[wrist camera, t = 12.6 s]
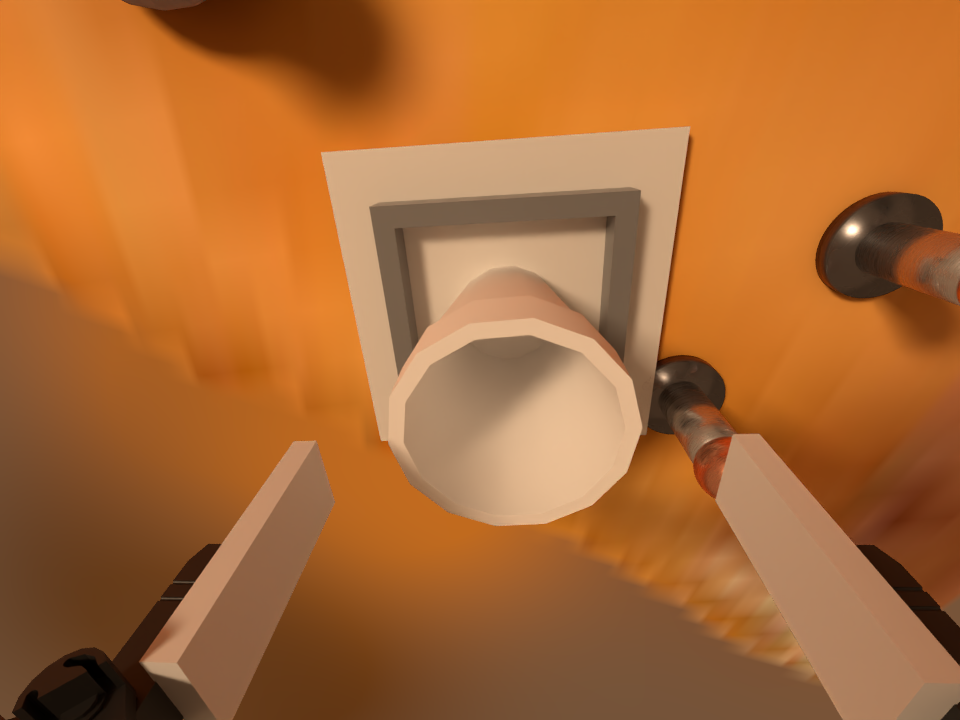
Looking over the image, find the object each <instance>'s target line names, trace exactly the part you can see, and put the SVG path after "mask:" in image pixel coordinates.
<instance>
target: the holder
mask: <svg viewBox="0 0 960 720" xmlns="http://www.w3.org/2000/svg"><path fill="white" fill-rule="evenodd" d="M689 131H690V126H689V127H675V128H661V129H647V130H632V131H618V132H604V133H590V134H576V135H562V136H547V137H533V138H519V139H505V140H491V141H476V142H462V143H448V144H434V145H420V146H405V147H391V148H377V149H363V150H349V151H334V152H321V155H322V160H323V164H324V169H325V174H326V179H327V184H328V188H329V193H330V198H331V203H332V208H333V213H334V217H335V222H336V227H337V232H338V237H339V241H340V246H341V251H342V256H343V261H344V265H345V270H346V275H347V280H348V285H349V289H350V294H351V299H352V304H353V309H354V314H355V318H356V323H357V328H358V333H359V338H360V342H361V347H362V352H363V357H364V362H365V366H366V371H367V376H368V381H369V386H370V390H371V395H372V400H373V405H374V410H375V415H376V419H377V424H378V429H379V434H380V439H381V441H388V431H389V397H390V394H391V392H392V390H393V388H394V385H395V383H396V381H397V379H398V376H399V374H400V372H401V370H402V367H403V366H404V364H405V362H406V361H407V359H408V358H409V356H410V354H411V353H412V351H413V350H414V348H415V346H416V345H417V343H418V342H419V340H420V338H421V337H422V335H423V334H424V332H425V330H426V329H427V327H429V326H430V325H432V324H434V323H435V322H437V321H439V320H440V319H441V318H442V316H443V315H444V314H445V313H446V311H447V310H448V309H449V308H450V306H451V305H452V304H453V303H454V301H455V300H456V299H457V297H458V296H459V295H460V294H461V292H462V291H463V290H464V289H465V287H466V286H467V285H468V284H469V282H470V281H471V280H472V279H474V278H475V277H477V276H478V275H480V274H482V273H483V272H485V271H487V270H488V269H490V268H493V267H503V266H513V265H515V266H518V267H520V268H523V269H526V270H529V271H531V272H534V273H536V274H537V275H538V276H539V277H540V278H541V279H542V280H543V281H544V282H545V283H546V284H547V285H548V286H549V287H550V288H551V289H552V291H553V292H554V293H555V294H556V295H557V296H558V297H559V298H560V299H561V300H562V301H563V302H564V303H565V304H566V305H567V306H568V308H569V309H570V310H572V311H575V312H578V313H581V314H582V315H583V316H584V317H585V318H586V319H587V320H588V321H589V322H590V324H591V325H592V326H593V327H594V328H595V329H596V330H597V331H598V332H599V333H600V334H601V335H602V336H603V337H604V338H605V340H606V341H607V342H608V343H609V344H610V345H611V346H612V347H613V348H614V349H615V350H616V352H617V354H618V355H619V357H620V359H621V361H622V363H623V364H624V366H625V368H626V370H627V371H628V373H629V375H630V377H631V378H632V381H633V386H634V390H635V395H636V400H637V404H638V409H639V413H640V418H641V423H642V427H643V428H642V431H641V434H640V435H646V433H647V426H648V424H647V423H648V419H649V416H648V415H649V412H650V407H649V406H650V405H651V398H652V391H653V384H654V379H653V378H654V377H655V370H656V363H657V356H658V349H659V342H660V335H661V328H662V321H663V314H664V307H665V300H666V293H667V286H668V279H669V272H670V265H671V258H672V251H673V244H674V237H675V230H676V223H677V216H678V209H679V202H680V194H681V187H682V180H683V173H684V166H685V159H686V152H687V145H688V138H689ZM649 377H650V378H649ZM648 380H649V381H648ZM647 383H648V384H647ZM644 384H645V385H644ZM645 386H646V387H645ZM642 388H643V389H642ZM649 389H650V390H649ZM639 393H640V394H639ZM650 393H651V394H650ZM641 394H642V395H641ZM647 395H648V396H647ZM642 396H643V397H642ZM637 397H638V398H637ZM644 403H645V404H644ZM647 404H648V405H647ZM644 408H645V409H644ZM648 408H649V409H648ZM643 415H644V416H643ZM641 416H642V417H641Z"/></svg>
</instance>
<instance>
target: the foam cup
mask: <svg viewBox="0 0 960 720" xmlns="http://www.w3.org/2000/svg"><path fill="white" fill-rule="evenodd" d="M642 428H643V427H642V423H641V418H640V413H639V409H638V404H637V400H636V395H635V390H634V386H633V381H632V378H631V377H630V375H629V373H628V371H627V370H626V368H625V366H624V364H623V363H622V361H621V359H620V357H619V355H618V354H617V352H616V350H615V349H614V348H613V347H612V346H611V345H610V344H609V343H608V342H607V341H606V340H605V338H604V337H603V336H602V335H601V334H600V333H599V332H598V331H597V330H596V329H595V328H594V327H593V326H592V325H591V324H590V322H589V321H588V320H587V319H586V318H585V317H584V316H583V315H582V314H581V313H578V312H575V311H572V310H570V309H569V308H568V306H567V305H566V304H565V303H564V302H563V301H562V300H561V299H560V298H559V297H558V296H557V295H556V294H555V293H554V292H553V291H552V289H551V288H550V287H549V286H548V285H547V284H546V283H545V282H544V281H543V280H542V279H541V278H540V277H539V276H538V275H537V274H536V273H534V272H531V271H529V270H526V269H523V268H520V267H518V266H515V265H513V266H503V267H493V268H490V269H488V270H487V271H485V272H483V273H482V274H480V275H478V276H477V277H475V278H474V279H472V280H471V281H470V282H469V284H468V285H467V286H466V287H465V289H464V290H463V291H462V292H461V294H460V295H459V296H458V297H457V299H456V300H455V301H454V303H453V304H452V305H451V306H450V308H449V309H448V310H447V311H446V313H445V314H444V315H443V316H442V318H441V319H440V320H439V321H437V322H435V323H434V324H432V325H430V326H429V327H427V329H426V330H425V332H424V334H423V335H422V337H421V338H420V340H419V342H418V343H417V345H416V346H415V348H414V350H413V351H412V353H411V354H410V356H409V358H408V359H407V361H406V362H405V364H404V366H403V367H402V370H401V372H400V374H399V376H398V379H397V381H396V383H395V385H394V388H393V390H392V392H391V394H390V397H389V431H388V444H389V446H390V448H391V450H392V452H393V454H394V455H395V457H396V459H397V461H398V463H399V465H400V466H401V468H402V470H403V472H404V474H405V476H406V477H407V479H408V481H409V483H410V484H411V485H412V486H414V487H415V488H416V489H417V490H419V491H420V492H422V493H423V494H424V495H426V496H427V497H428V498H430V499H431V500H432V501H434V502H435V503H436V504H438V505H439V506H440V507H442V508H443V509H444V510H446V511H447V512H449V513H452V514H456V515H459V516H463V517H467V518H470V519H473V520H477V521H480V522H484V523H487V524H491V525H494V526H505V525H527V524H546V523H549V522H551V521H554V520H556V519H559V518H561V517H564V516H566V515H569V514H571V513H574V512H576V511H579V510H581V509H584V508H587V507H589V506H592V505H593V504H594V503H595V502H596V501H597V500H598V499H599V498H600V497H601V496H602V495H603V494H604V493H605V492H607V491H608V490H609V489H610V488H611V487H612V486H613V485H614V484H615V483H616V482H617V481H618V480H619V479H620V478H621V477H622V476H623V475H624V474H626V473H627V470H628V468H629V465H630V462H631V459H632V456H633V454H634V451H635V448H636V445H637V442H638V439H639V437H640V434H641V431H642Z"/></svg>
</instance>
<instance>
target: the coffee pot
mask: <svg viewBox="0 0 960 720" xmlns="http://www.w3.org/2000/svg"><path fill="white" fill-rule="evenodd" d="M122 1H124V2H126V3H128V4H131V5H137V6H142V7H147V8H153V9H158V10H166V11H167V10H173V9H180V8H186V7H193V6H197V5H199V4H200V3H202V2H204V1H206V0H122Z"/></svg>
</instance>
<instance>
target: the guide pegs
mask: <svg viewBox="0 0 960 720" xmlns="http://www.w3.org/2000/svg"><path fill="white" fill-rule="evenodd" d="M816 269H817V272H818V275H819V277H820V279H821V280H822V281H823V282H824V283H825V285H827V286H828V287H830V288H831V289H833V290H835V291H838V292H840V293H842V294H845V295H847V296H851V297H855V298H871V297H877V296H881V295H884V294H887V293H889V292H892V291H894V290H896V289H898V288H900V287H902V286H905V287H907V288H910V289H913V290H916V291H919V292H922V293H925V294H928V295H931V296H933V297H936V298H939V299H942V300H945V301H948V302H951V303H954V304H956V305H959V306H960V234H958V233H953V232H948V231H943V221H942V216H941V213H940V211H939V209H938V208H937V206H936V205H935V204H934V203H933V202H932V201H931V200H929V199H927V198H926V197H923V196H920V195H917V194H910V193H901V192H883V193H878V194H874V195H871V196H868V197H865V198H863V199H861V200H859V201H857V202H856V203H854V204H852V205H851V206H849V207H848V208H847V209H845V210H844V211H843V212H842V213H841V214H839V215H838V216H837V217H836V218H835V219H834V220H833V222H832V223H831V224H830V225H829V227H828V228H827V229H826V231H825V233H824V234H823V236H822V238H821V240H820V242H819V245H818V248H817V253H816ZM649 378H650V377H649ZM653 379H654V384H653V391H652V398H651V405H650V406H649V407H650V412H649V415H648V416H649V419H648V423H647V424H648V427H649V428H651V429H652V430H654V431H657V432H660V433H664V434H675V435H676V436H677V438H678V440H679V441H680V443H681V445H682V446H683V448H684V450H685V451H686V453H687V455H688V456H689V458H690V459H691V461H692V463H693V469H694V474H695V477H696V480H697V482H698V483H699V485H700V486H701V488H702V489H703V490H704V491H705V492H706V493H707V494H709V495H710V496H711V497H713V498H715V499H716V496H717V492H718V488H719V485H720V481H721V477H722V473H723V470H724V466H725V462H726V458H727V455H728V451H729V447H730V443H731V439H732V436H733V434H738V433H737V432H736V431H735V430H734V429H733V427H732V426H731V425H730V424H729V423H728V421H727V420H726V419H725V418H724V417H723V415H722V414H721V413H720V412H719V410H720V408H721V406H722V404H723V401H724V398H725V385H724V382H723V380H722V378H721V376H720V375H719V374H718V373H717V371H716V370H715V369H714V368H713V367H712V366H711V365H710V364H708V363H707V362H706V361H704V360H702V359H700V358H698V357H694V356H688V355H678V356H672V357H668V358H665V359H662V360H660V361H658V362H657V363H656V370H655V377H654V378H653ZM648 381H649V380H648ZM647 384H648V383H647ZM644 385H645V384H644ZM645 387H646V386H645ZM642 389H643V388H642ZM649 390H650V389H649ZM639 394H640V393H639ZM650 394H651V393H650ZM641 395H642V394H641ZM647 396H648V395H647ZM642 397H643V396H642ZM637 398H638V397H637ZM644 404H645V403H644ZM647 405H648V404H647ZM644 409H645V408H644ZM648 409H649V408H648ZM643 416H644V415H643ZM641 417H642V416H641Z"/></svg>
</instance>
